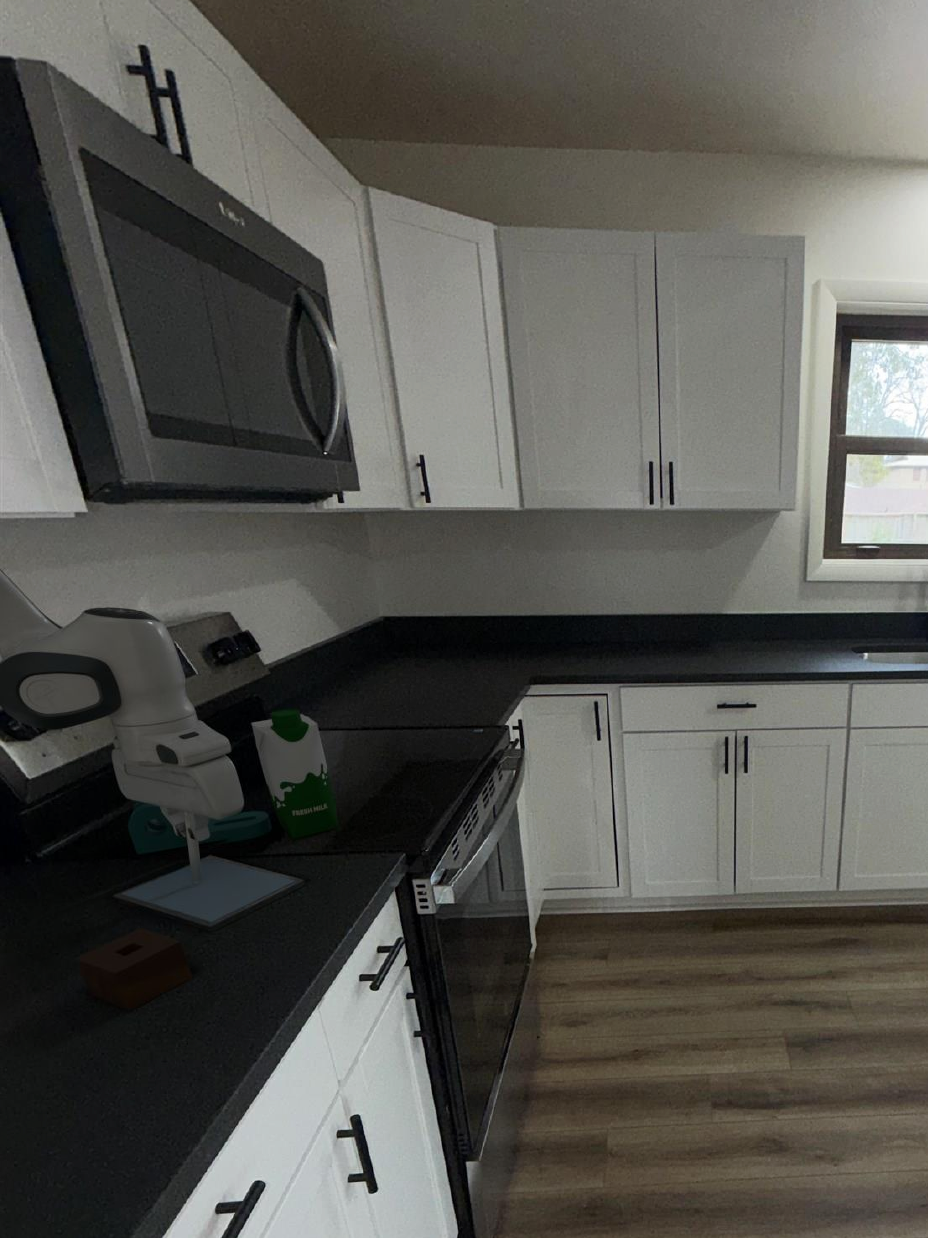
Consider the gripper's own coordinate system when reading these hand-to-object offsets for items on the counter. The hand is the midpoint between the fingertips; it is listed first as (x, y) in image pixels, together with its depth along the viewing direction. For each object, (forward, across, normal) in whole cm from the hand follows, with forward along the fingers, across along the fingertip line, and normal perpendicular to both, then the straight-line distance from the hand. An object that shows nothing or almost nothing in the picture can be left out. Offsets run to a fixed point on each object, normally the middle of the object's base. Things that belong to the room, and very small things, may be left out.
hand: (193, 837), depth 105 cm
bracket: (+9, -18, +12) cm, 23 cm away
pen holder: (+8, +14, -18) cm, 25 cm away
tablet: (+8, 0, 0) cm, 9 cm away
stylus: (+8, -2, 0) cm, 8 cm away
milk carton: (+9, -7, +22) cm, 24 cm away
